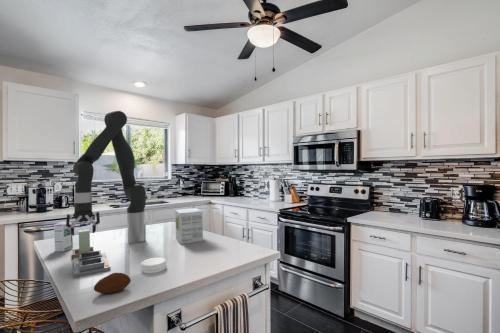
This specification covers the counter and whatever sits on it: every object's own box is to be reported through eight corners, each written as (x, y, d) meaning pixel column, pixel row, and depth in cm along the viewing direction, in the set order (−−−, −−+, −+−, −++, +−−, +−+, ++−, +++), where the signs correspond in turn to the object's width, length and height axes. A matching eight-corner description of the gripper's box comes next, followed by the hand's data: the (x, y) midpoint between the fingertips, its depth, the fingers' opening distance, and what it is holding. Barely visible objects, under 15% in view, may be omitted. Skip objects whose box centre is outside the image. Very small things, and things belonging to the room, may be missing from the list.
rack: (105, 255, 132) (105, 248, 132) (110, 270, 113) (110, 262, 113) (73, 261, 125) (73, 254, 125) (73, 277, 106) (73, 269, 106)
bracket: (93, 250, 141) (93, 246, 141) (94, 255, 133) (94, 251, 133) (72, 253, 136) (72, 249, 136) (72, 259, 128) (72, 255, 128)
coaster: (160, 263, 121) (160, 255, 121) (170, 269, 114) (169, 261, 114) (137, 269, 115) (137, 260, 115) (146, 276, 107) (146, 267, 107)
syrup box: (63, 251, 140) (63, 223, 140) (54, 251, 141) (53, 223, 141) (73, 248, 145) (72, 221, 145) (63, 247, 147) (63, 221, 146)
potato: (93, 292, 94) (92, 274, 94) (129, 284, 100) (128, 266, 100) (94, 300, 88) (94, 280, 88) (132, 290, 95) (131, 272, 95)
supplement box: (175, 239, 160) (174, 209, 160) (197, 235, 166) (196, 207, 166) (180, 244, 148) (179, 213, 148) (203, 241, 154) (202, 210, 154)
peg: (89, 252, 138) (89, 229, 138) (90, 254, 134) (89, 230, 134) (79, 254, 135) (78, 230, 135) (79, 256, 132) (78, 232, 131)
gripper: (99, 199, 142) (99, 230, 141) (66, 201, 134) (66, 234, 134) (100, 201, 135) (100, 233, 135) (65, 203, 127) (65, 237, 127)
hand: (83, 233), depth 134 cm, fingers open, 8 cm apart
